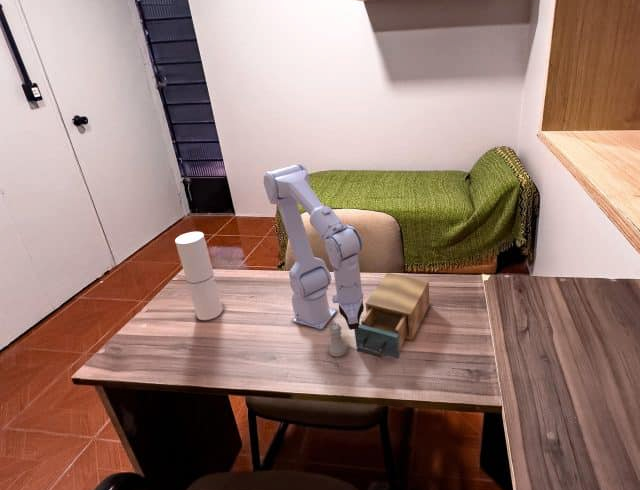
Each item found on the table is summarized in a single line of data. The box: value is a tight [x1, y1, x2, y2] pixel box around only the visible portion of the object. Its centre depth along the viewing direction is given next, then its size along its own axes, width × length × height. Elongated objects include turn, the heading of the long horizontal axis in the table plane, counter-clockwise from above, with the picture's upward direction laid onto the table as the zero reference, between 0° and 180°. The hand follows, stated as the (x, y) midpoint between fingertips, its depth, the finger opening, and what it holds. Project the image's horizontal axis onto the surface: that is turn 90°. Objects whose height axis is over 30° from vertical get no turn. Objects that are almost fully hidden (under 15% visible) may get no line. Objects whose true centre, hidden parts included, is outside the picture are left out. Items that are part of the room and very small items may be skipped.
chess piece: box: [327, 322, 348, 357], centre depth 97 cm, size 4×4×8 cm
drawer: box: [353, 307, 409, 360], centre depth 98 cm, size 18×11×7 cm, turn 156°
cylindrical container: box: [174, 231, 224, 321], centre depth 111 cm, size 7×7×25 cm
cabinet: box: [365, 272, 430, 341], centre depth 107 cm, size 15×13×9 cm
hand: (353, 327), depth 92 cm, fingers closed
